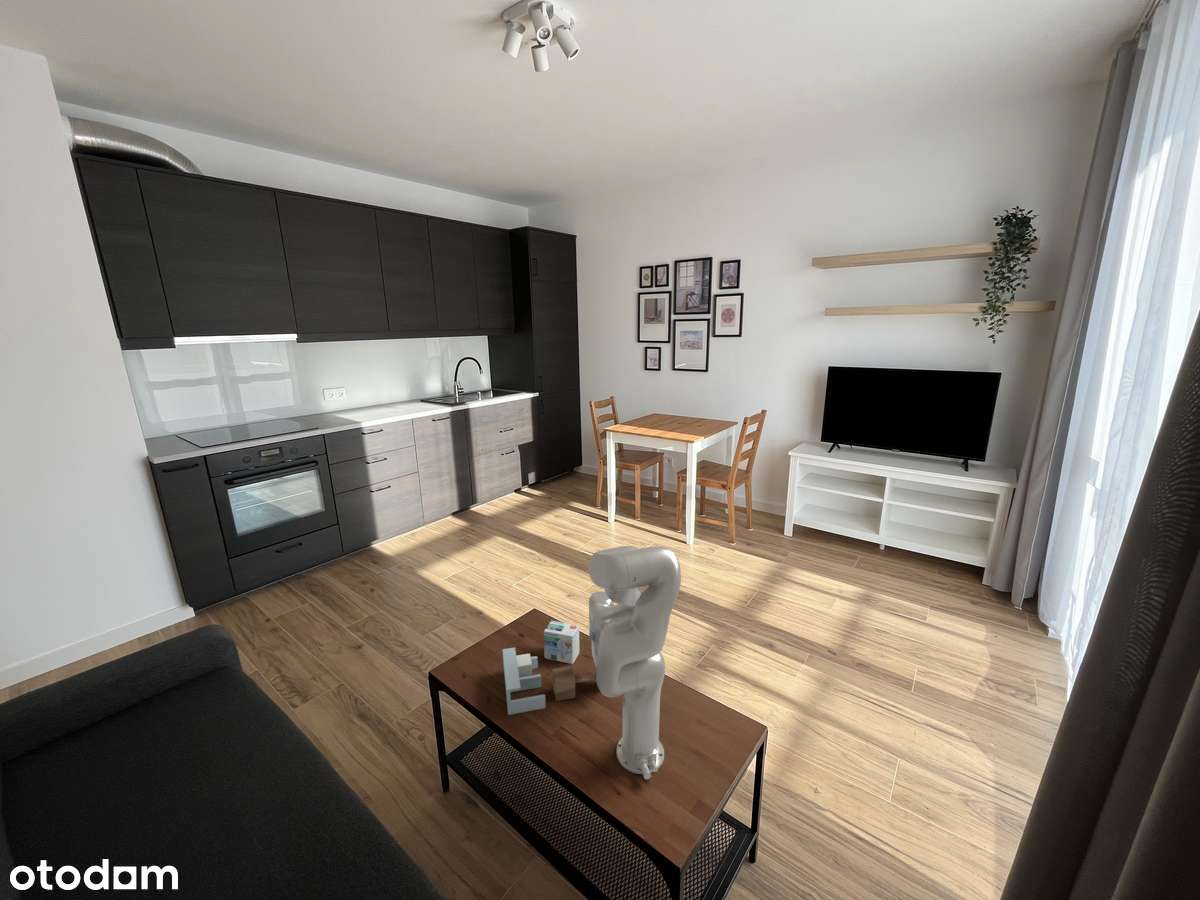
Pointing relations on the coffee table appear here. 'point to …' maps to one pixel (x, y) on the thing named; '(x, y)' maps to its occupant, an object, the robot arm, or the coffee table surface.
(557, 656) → the light bulb box
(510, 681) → the lane cubby
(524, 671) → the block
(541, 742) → the coffee table surface
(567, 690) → the tethered block
